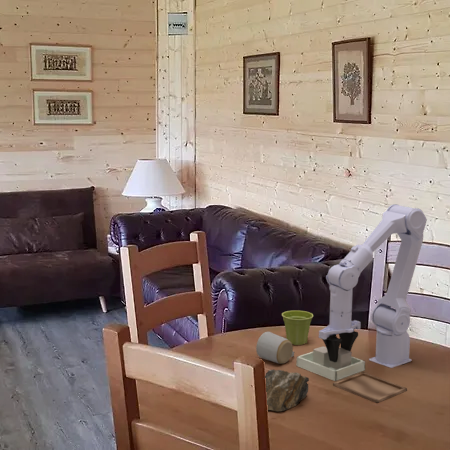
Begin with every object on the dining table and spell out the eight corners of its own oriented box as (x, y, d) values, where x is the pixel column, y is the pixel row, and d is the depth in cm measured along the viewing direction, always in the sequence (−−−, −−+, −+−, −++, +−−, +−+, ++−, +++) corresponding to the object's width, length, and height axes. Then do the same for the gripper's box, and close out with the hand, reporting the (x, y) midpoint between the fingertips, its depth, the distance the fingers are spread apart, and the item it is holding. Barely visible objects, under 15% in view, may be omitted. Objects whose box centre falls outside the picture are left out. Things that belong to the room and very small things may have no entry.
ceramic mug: (278, 368, 193) (278, 341, 192) (255, 360, 199) (255, 334, 198) (301, 358, 201) (302, 332, 200) (278, 351, 206) (279, 326, 205)
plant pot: (278, 337, 218) (279, 310, 217) (308, 336, 219) (309, 309, 218) (284, 347, 209) (285, 319, 208) (315, 346, 210) (316, 318, 209)
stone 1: (322, 361, 197) (323, 346, 196) (333, 365, 194) (334, 350, 193) (312, 364, 195) (313, 349, 194) (323, 369, 191) (324, 353, 191)
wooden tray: (363, 375, 188) (363, 371, 188) (407, 391, 178) (407, 388, 177) (332, 386, 181) (333, 383, 180) (376, 404, 170) (377, 400, 170)
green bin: (325, 357, 201) (326, 347, 201) (364, 371, 191) (365, 361, 190) (296, 367, 194) (296, 356, 193) (335, 382, 183) (335, 371, 183)
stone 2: (339, 363, 192) (340, 347, 191) (350, 367, 189) (351, 352, 188) (329, 366, 190) (330, 350, 189) (340, 371, 187) (341, 355, 186)
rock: (277, 417, 163) (288, 376, 162) (240, 398, 170) (250, 359, 169) (308, 409, 175) (319, 371, 174) (273, 392, 181) (282, 355, 180)
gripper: (333, 318, 180) (332, 369, 182) (370, 308, 189) (368, 357, 191) (313, 312, 185) (312, 362, 187) (349, 302, 194) (348, 350, 196)
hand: (339, 359), depth 189 cm, fingers open, 4 cm apart
